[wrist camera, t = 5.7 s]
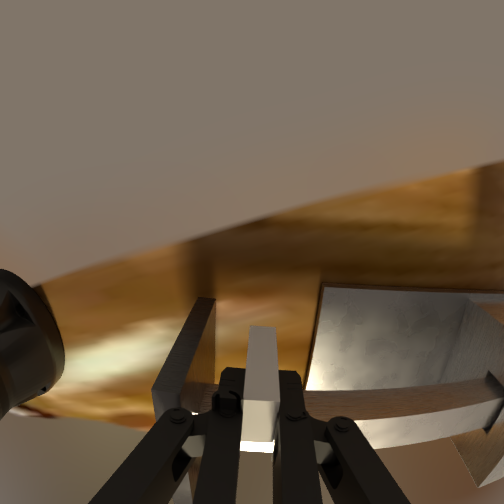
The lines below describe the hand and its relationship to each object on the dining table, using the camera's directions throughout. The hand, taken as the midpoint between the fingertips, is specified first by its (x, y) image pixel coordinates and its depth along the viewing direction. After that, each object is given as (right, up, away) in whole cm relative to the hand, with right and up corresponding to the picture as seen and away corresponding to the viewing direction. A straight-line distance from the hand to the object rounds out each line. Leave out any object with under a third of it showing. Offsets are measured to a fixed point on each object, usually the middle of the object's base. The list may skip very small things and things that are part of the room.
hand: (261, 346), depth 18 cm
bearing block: (+17, -4, +7) cm, 19 cm away
